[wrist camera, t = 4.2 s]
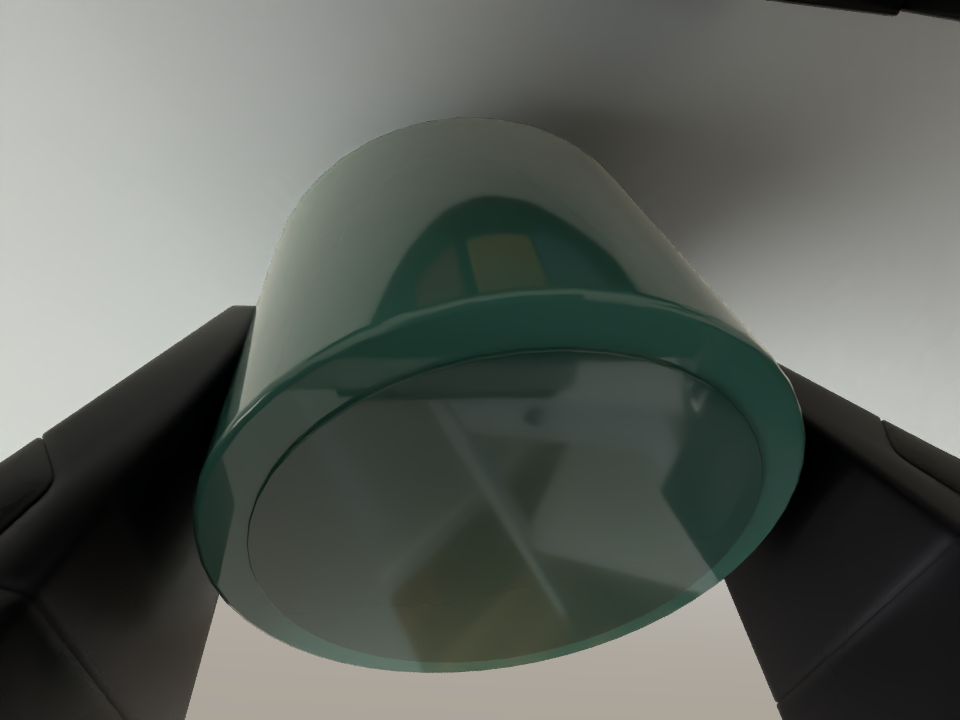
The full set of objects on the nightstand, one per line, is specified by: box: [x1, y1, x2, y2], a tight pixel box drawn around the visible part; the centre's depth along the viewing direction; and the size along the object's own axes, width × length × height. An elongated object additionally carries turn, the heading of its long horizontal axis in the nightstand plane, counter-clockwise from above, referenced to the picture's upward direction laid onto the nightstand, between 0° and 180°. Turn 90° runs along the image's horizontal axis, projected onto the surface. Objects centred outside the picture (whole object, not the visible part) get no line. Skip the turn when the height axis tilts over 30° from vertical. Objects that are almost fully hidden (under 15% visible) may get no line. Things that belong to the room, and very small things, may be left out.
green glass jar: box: [193, 118, 806, 673], centre depth 8 cm, size 6×6×5 cm
